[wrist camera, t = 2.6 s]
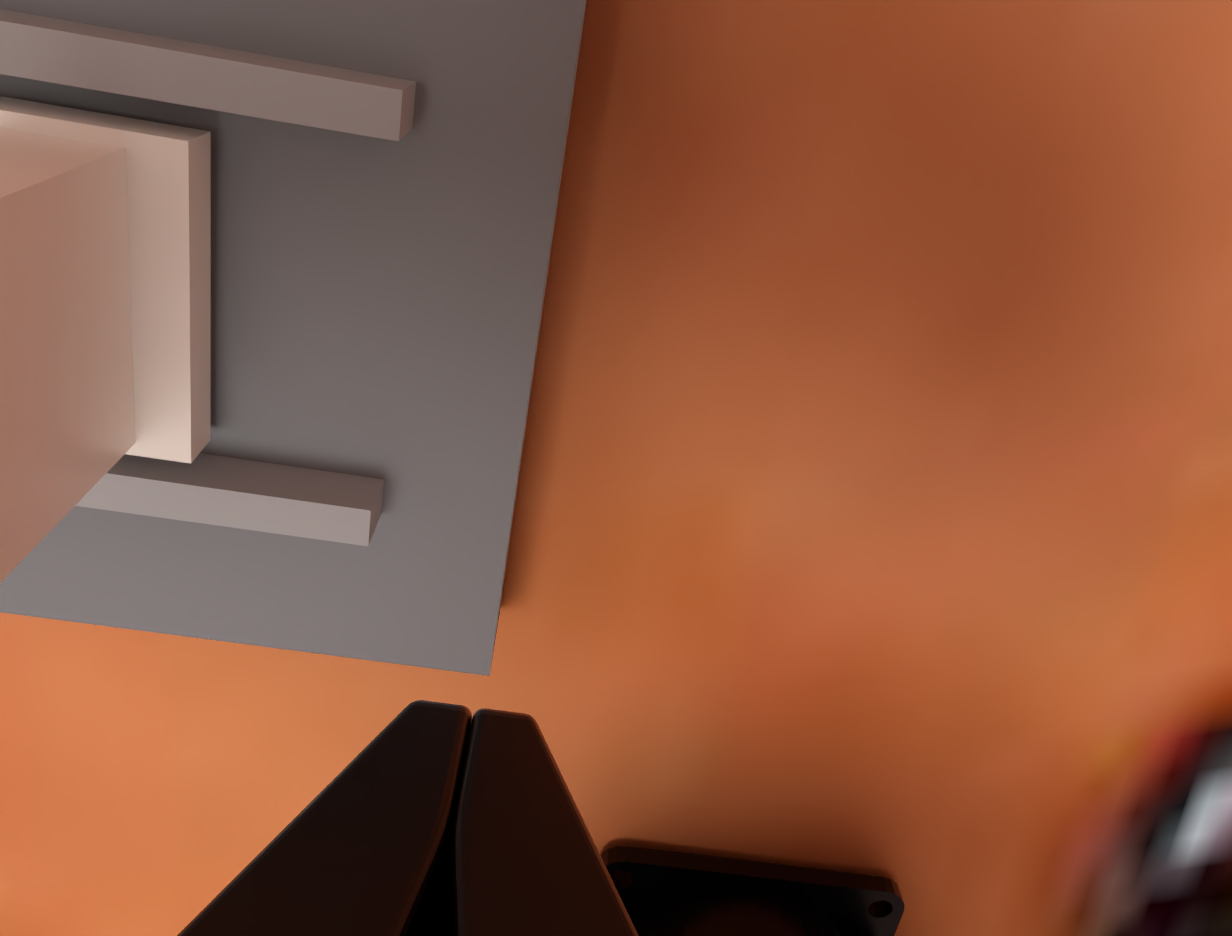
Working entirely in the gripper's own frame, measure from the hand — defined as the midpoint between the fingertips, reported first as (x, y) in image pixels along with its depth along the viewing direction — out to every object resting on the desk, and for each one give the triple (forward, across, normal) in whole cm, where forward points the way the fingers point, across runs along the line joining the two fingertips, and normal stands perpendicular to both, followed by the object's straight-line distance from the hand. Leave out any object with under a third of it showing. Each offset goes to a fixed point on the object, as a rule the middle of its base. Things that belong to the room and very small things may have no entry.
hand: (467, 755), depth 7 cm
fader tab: (+8, +6, 0) cm, 10 cm away
